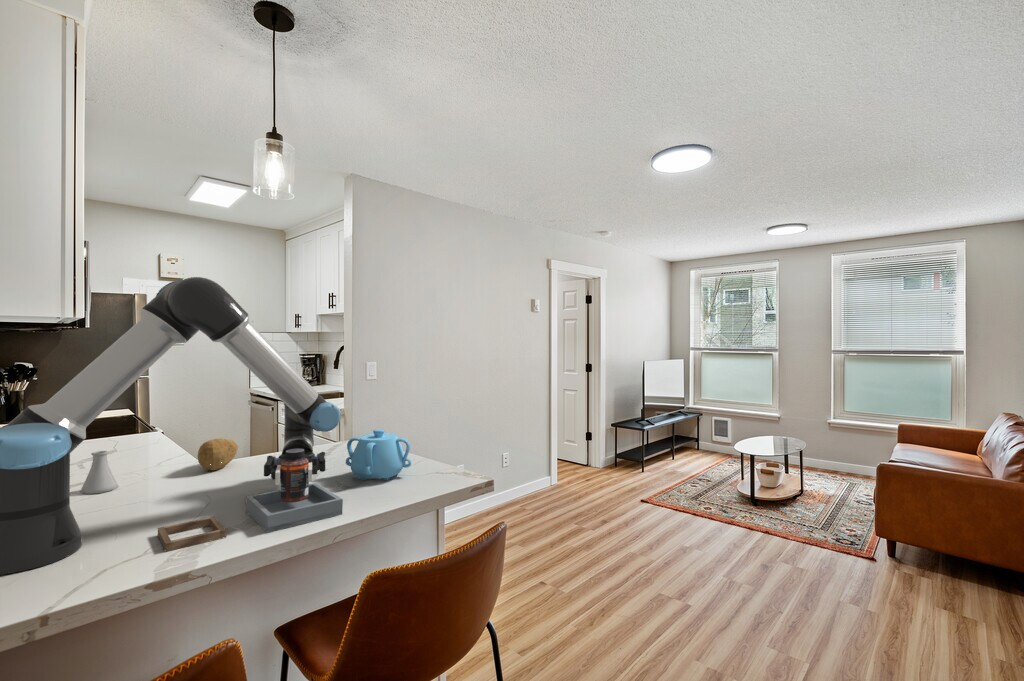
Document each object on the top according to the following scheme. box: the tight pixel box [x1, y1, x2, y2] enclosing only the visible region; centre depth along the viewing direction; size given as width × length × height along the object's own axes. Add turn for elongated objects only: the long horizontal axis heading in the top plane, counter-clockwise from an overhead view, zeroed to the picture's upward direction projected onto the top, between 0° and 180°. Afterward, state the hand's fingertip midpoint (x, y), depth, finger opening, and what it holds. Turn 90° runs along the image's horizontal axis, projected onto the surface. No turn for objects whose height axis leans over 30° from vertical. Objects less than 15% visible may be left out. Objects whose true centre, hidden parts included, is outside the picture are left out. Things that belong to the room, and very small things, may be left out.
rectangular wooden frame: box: [157, 515, 227, 553], centre depth 98 cm, size 10×10×2 cm
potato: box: [197, 438, 239, 471], centre depth 148 cm, size 9×16×9 cm, turn 4°
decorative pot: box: [345, 428, 412, 481], centre depth 142 cm, size 16×16×14 cm
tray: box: [245, 482, 344, 533], centre depth 112 cm, size 16×16×4 cm
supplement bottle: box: [280, 449, 310, 503], centre depth 112 cm, size 6×6×11 cm
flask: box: [79, 450, 119, 495], centre depth 125 cm, size 7×7×10 cm
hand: (293, 477), depth 107 cm, fingers closed on supplement bottle, 6 cm apart
